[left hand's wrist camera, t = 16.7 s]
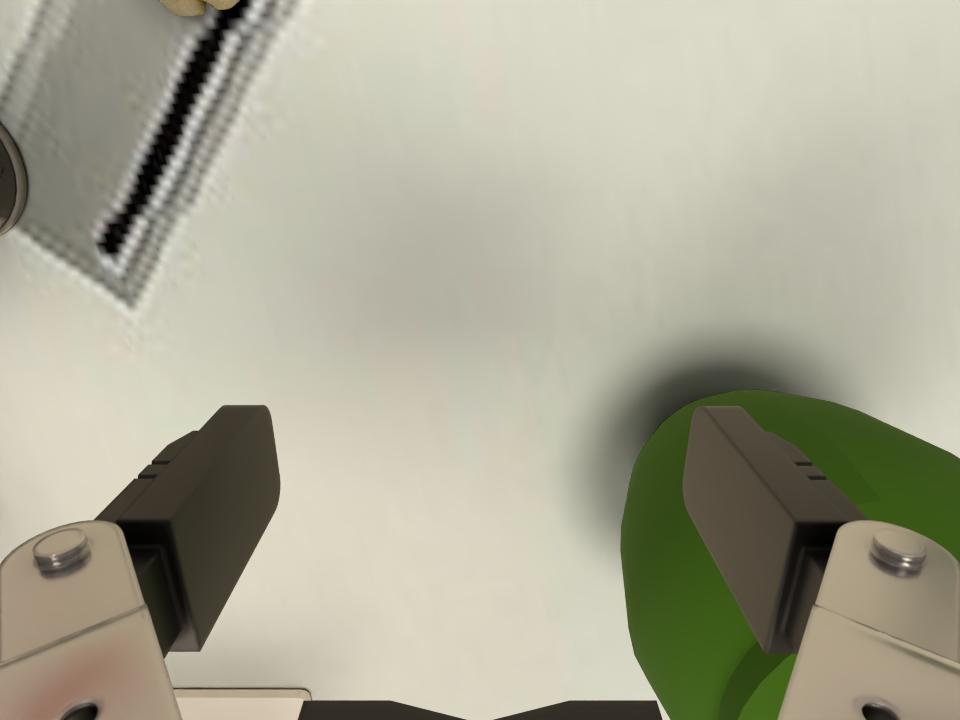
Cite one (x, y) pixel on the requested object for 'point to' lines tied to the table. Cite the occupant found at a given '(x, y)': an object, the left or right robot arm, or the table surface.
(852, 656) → the left robot arm
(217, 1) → the sculpture
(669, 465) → the vase
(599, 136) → the table surface
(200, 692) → the tablet stand
